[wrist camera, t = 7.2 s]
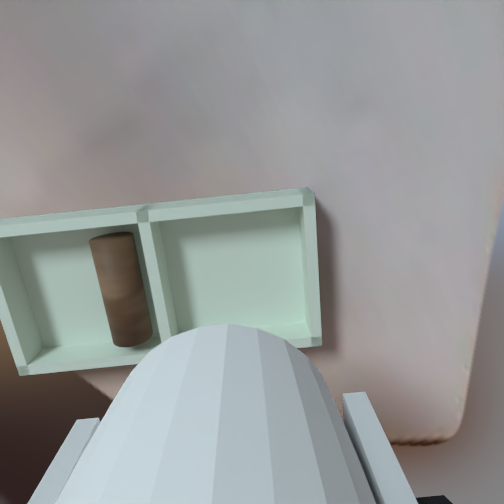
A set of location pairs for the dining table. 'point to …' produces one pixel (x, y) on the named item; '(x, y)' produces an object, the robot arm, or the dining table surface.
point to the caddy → (161, 275)
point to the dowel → (122, 288)
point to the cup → (221, 429)
